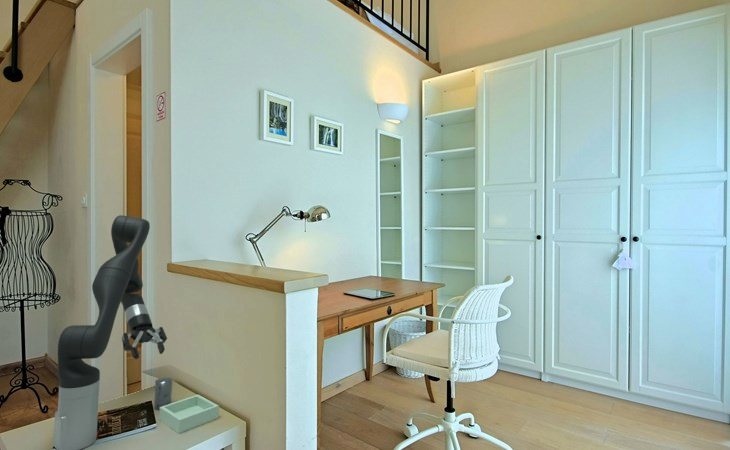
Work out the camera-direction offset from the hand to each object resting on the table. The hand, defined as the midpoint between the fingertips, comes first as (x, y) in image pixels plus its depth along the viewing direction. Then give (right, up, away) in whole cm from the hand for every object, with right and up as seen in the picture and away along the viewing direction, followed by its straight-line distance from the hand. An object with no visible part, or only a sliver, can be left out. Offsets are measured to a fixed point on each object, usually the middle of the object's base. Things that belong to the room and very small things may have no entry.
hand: (150, 355), depth 138 cm
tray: (+22, -15, -16) cm, 31 cm away
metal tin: (+9, -15, -8) cm, 19 cm away
